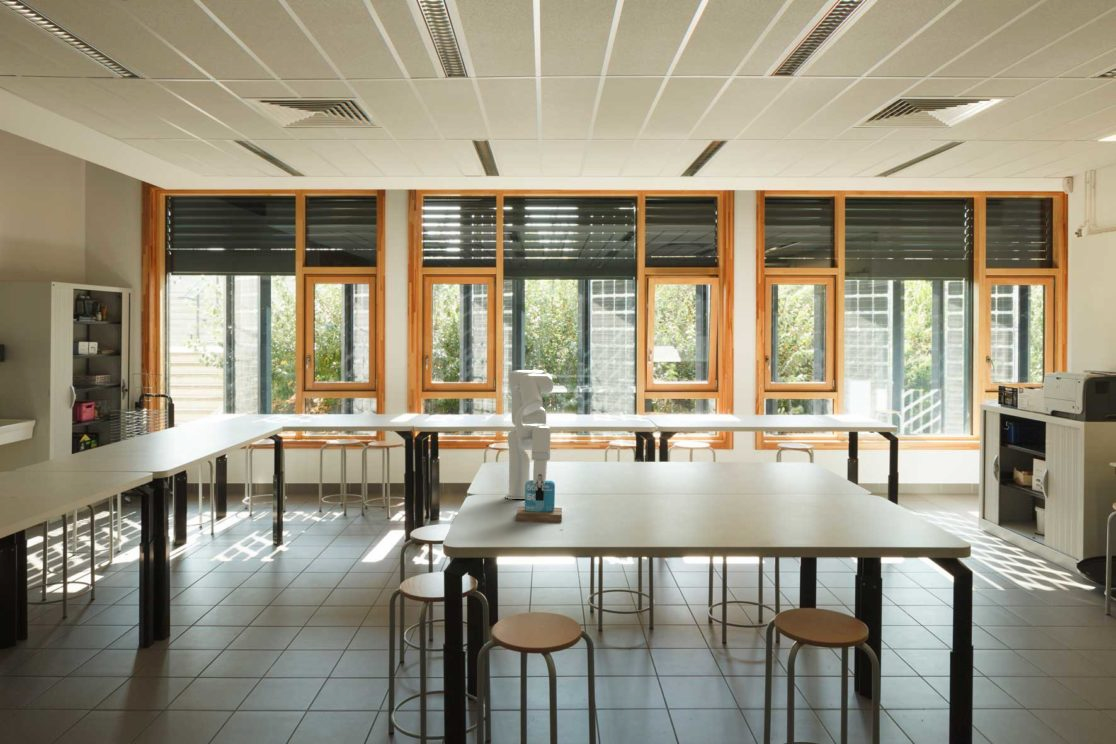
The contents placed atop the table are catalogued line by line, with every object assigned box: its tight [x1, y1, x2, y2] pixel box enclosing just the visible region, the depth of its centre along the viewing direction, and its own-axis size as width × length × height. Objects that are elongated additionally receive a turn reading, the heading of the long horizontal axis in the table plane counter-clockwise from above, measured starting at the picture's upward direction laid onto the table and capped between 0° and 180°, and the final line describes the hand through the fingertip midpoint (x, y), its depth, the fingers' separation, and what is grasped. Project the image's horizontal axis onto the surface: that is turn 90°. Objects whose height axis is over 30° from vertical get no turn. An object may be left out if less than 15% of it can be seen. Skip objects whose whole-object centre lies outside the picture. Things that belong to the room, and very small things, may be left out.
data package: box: [524, 479, 556, 512], centre depth 309 cm, size 12×4×12 cm, turn 89°
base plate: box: [515, 506, 563, 523], centre depth 309 cm, size 14×18×3 cm
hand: (539, 498), depth 309 cm, fingers open, 9 cm apart
